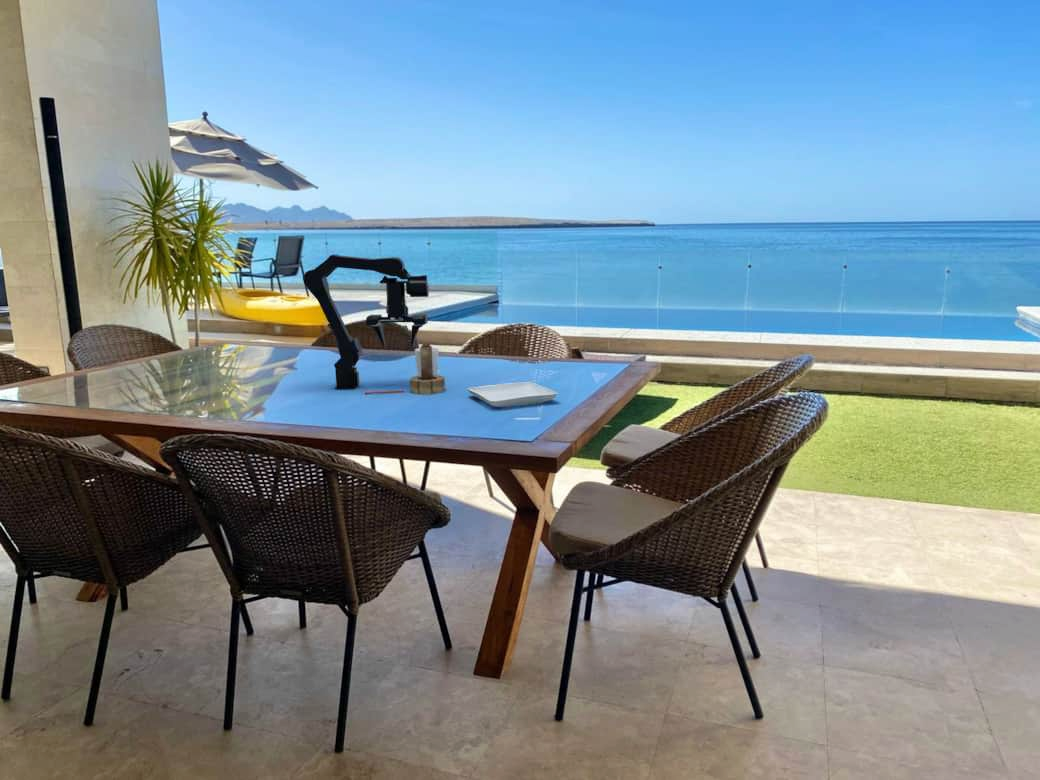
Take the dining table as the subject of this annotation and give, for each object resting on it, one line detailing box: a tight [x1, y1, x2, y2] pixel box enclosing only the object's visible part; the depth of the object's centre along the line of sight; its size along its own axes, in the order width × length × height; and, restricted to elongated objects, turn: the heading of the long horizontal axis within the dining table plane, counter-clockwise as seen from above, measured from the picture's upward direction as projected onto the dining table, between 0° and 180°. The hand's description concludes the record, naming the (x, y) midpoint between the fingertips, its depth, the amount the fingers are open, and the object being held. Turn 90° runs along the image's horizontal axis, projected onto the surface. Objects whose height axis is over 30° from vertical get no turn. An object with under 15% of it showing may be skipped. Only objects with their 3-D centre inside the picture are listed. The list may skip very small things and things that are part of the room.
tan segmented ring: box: [409, 374, 446, 395], centre depth 242 cm, size 10×10×4 cm
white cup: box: [414, 347, 439, 376], centre depth 261 cm, size 8×8×10 cm
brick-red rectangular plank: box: [364, 389, 405, 395], centre depth 240 cm, size 12×1×1 cm, turn 100°
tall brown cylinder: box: [419, 341, 433, 380], centre depth 241 cm, size 4×4×15 cm
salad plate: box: [467, 381, 559, 408], centre depth 227 cm, size 21×21×3 cm
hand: (398, 346), depth 247 cm, fingers open, 9 cm apart
